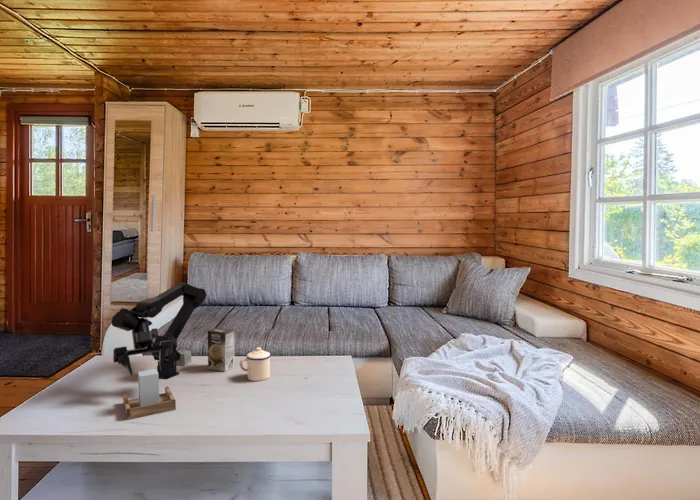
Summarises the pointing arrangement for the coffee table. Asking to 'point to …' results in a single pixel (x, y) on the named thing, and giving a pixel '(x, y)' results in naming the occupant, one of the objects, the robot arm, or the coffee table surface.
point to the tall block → (148, 387)
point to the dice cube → (184, 357)
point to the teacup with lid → (257, 365)
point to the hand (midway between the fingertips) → (146, 372)
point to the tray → (137, 411)
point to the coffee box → (220, 349)
